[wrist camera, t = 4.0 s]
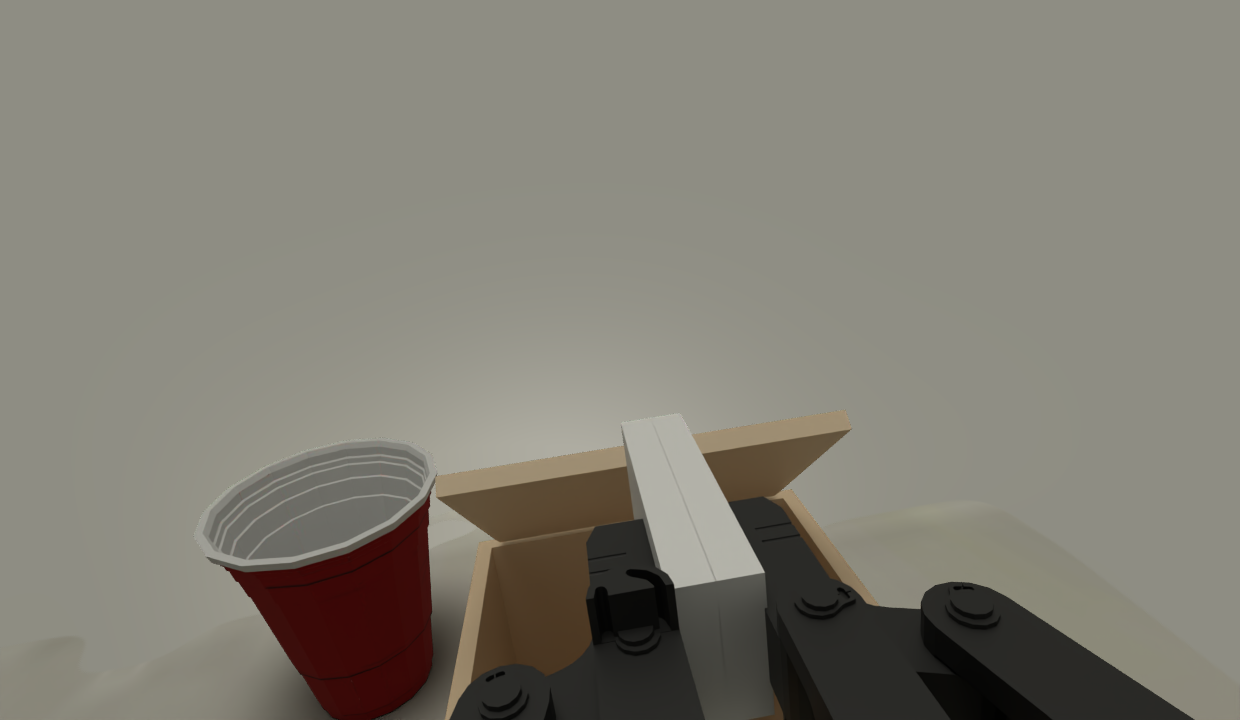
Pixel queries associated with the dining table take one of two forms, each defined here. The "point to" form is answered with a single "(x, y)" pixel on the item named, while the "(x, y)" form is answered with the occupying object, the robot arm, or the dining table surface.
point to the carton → (568, 600)
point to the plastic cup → (337, 566)
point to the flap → (600, 481)
